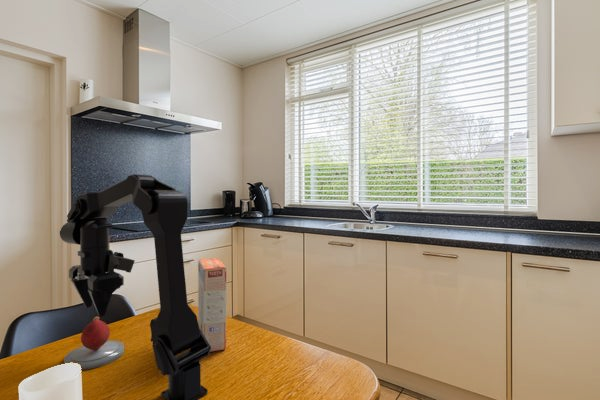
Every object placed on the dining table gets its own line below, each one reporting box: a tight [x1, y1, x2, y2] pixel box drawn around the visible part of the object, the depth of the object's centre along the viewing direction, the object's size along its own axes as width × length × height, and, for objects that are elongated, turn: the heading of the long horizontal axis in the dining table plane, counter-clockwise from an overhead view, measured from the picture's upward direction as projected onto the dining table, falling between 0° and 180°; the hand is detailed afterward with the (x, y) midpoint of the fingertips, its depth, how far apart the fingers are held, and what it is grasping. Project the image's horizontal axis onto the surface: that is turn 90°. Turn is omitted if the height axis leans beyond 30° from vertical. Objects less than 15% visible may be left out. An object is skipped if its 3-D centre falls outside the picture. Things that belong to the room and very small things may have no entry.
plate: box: [63, 339, 125, 371], centre depth 76 cm, size 12×12×2 cm
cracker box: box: [197, 257, 227, 353], centre depth 85 cm, size 14×6×21 cm, turn 22°
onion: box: [80, 315, 111, 351], centre depth 76 cm, size 6×6×8 cm
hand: (95, 311), depth 76 cm, fingers open, 9 cm apart
